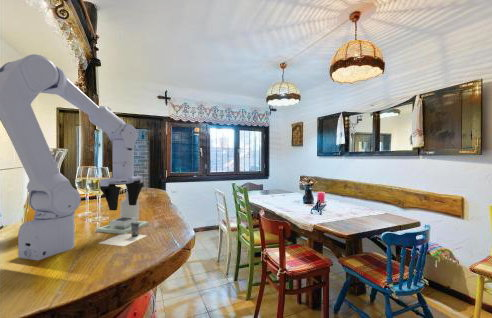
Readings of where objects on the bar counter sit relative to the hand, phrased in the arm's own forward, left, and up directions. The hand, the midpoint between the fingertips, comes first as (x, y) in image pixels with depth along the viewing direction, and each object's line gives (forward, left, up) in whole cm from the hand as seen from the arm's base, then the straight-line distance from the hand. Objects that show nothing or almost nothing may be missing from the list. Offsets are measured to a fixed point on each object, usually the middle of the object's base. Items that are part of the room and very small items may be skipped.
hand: (123, 207), depth 71 cm
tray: (0, 0, -7) cm, 7 cm away
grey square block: (0, 0, -7) cm, 7 cm away
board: (-8, -8, -7) cm, 14 cm away
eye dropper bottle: (+9, +5, -7) cm, 13 cm away
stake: (-5, -9, -6) cm, 12 cm away
